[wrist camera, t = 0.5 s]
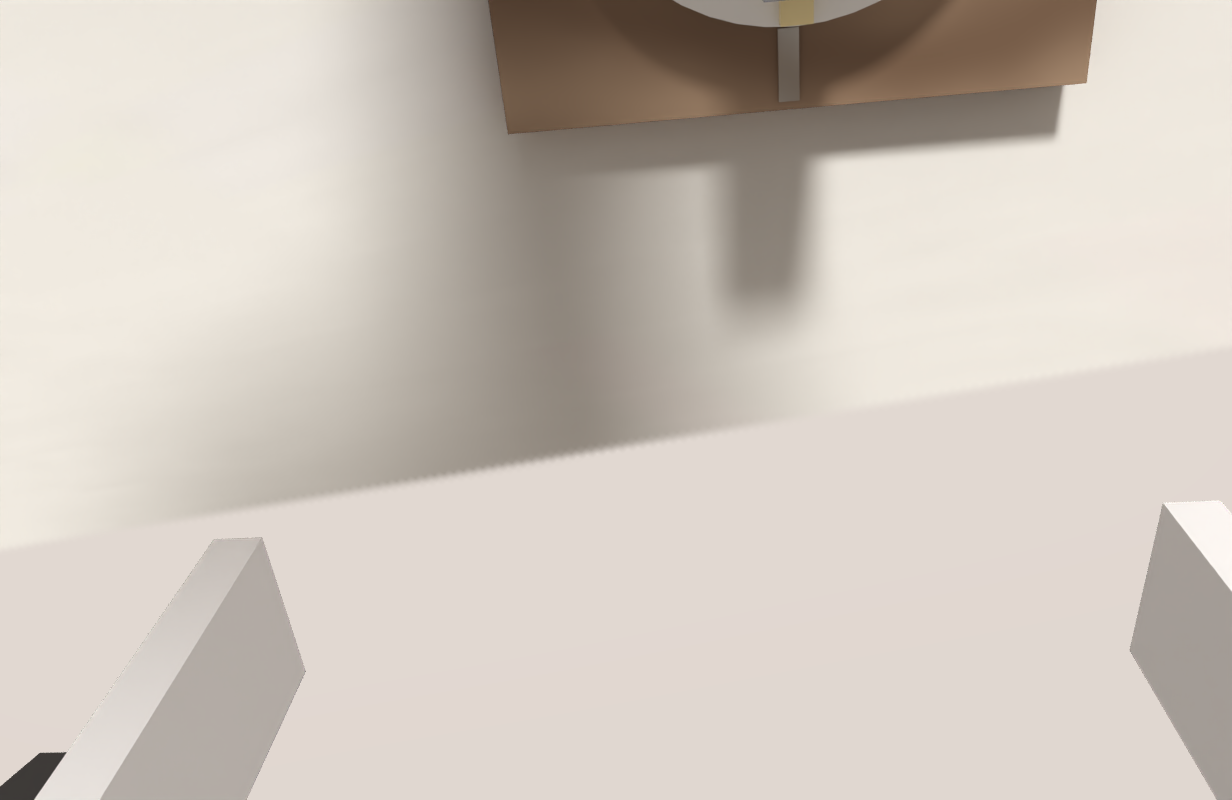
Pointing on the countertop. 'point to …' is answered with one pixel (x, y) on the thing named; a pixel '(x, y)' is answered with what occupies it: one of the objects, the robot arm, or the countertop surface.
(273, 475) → the countertop surface
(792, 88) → the dial base
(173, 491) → the countertop surface
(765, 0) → the dial
